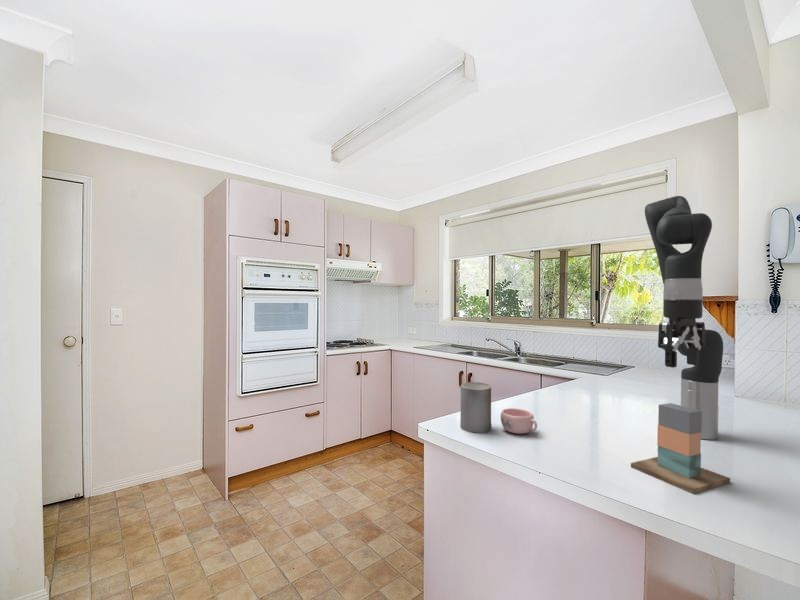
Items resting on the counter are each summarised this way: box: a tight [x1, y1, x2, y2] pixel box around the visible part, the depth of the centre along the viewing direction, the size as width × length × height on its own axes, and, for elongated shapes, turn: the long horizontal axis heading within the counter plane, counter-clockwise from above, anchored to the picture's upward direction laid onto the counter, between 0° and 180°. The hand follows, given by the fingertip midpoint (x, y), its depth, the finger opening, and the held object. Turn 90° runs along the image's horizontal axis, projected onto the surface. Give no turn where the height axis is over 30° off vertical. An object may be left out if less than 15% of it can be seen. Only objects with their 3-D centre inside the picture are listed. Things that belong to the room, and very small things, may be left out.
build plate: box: [630, 445, 731, 495], centre depth 91 cm, size 14×14×6 cm
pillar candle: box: [459, 381, 492, 434], centre depth 121 cm, size 10×10×15 cm
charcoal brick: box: [657, 402, 702, 435], centre depth 91 cm, size 4×7×5 cm, turn 22°
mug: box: [500, 407, 538, 435], centre depth 118 cm, size 12×10×6 cm
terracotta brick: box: [656, 424, 702, 456], centre depth 91 cm, size 4×7×5 cm, turn 24°
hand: (681, 365), depth 90 cm, fingers open, 8 cm apart
